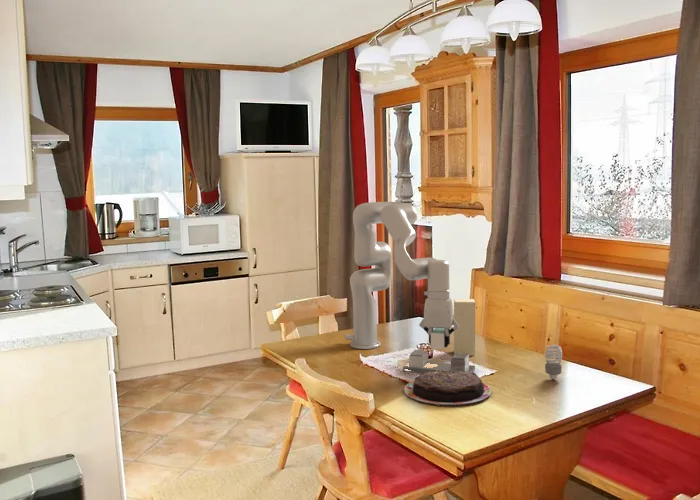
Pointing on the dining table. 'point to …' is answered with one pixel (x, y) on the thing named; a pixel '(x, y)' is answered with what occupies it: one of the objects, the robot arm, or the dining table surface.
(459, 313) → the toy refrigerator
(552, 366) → the light bulb
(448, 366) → the rail
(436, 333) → the block
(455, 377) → the chocolate cake
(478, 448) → the dining table surface
